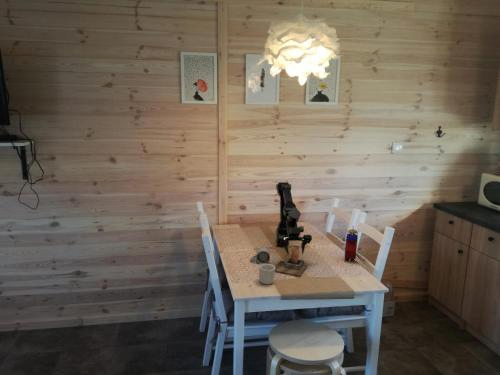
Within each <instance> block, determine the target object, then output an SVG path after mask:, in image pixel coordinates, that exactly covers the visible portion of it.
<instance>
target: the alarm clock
mask: <svg viewBox="0 0 500 375" xmlns="http://www.w3.org/2000/svg"><path fill="white" fill-rule="evenodd" d="M354 227H355V226H354V225H352V228H351V229H348V230H347V233H346V236H345V237H342V241H343V242H345V243H341V245H345V246H344V247H342V249H343V250H344V259H348V262H349V263H351V260H356V258H357V249H358V238H359V236H358V234H359V231H357V230H356V229H354Z"/></svg>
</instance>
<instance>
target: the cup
mask: <svg viewBox="0 0 500 375" xmlns="http://www.w3.org/2000/svg"><path fill="white" fill-rule="evenodd" d="M275 266H276V265H273V264H272V263H266V264H259V266H258V275H259V281H260V283H261V284H263V285H271V284H273V282H274V278H275V273H276V272H275Z"/></svg>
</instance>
